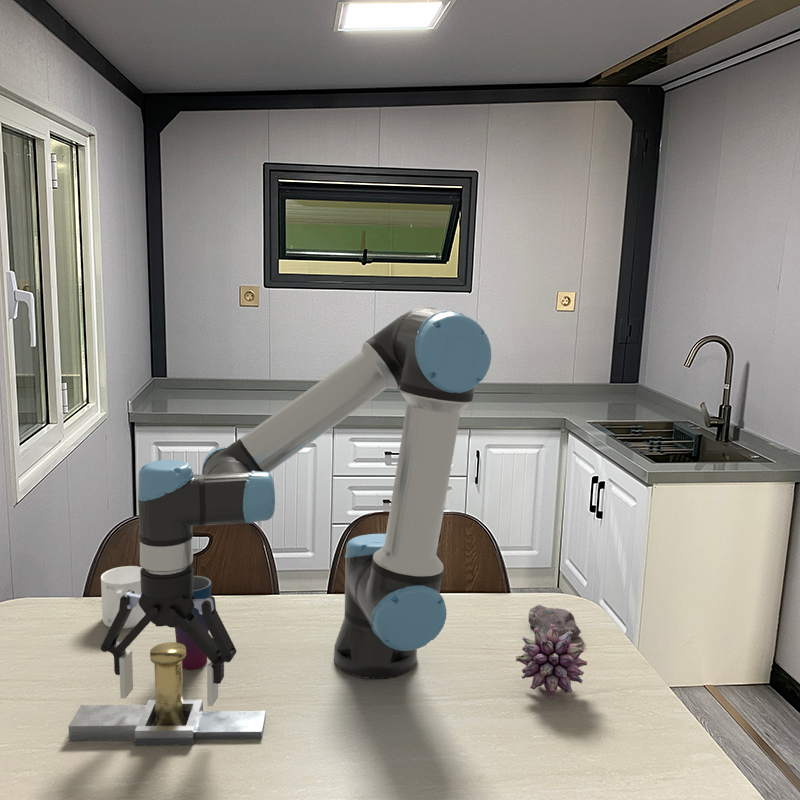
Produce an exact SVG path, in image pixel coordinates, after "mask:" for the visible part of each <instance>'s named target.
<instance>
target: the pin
mask: <svg viewBox="0 0 800 800" xmlns="http://www.w3.org/2000/svg"><path fill="white" fill-rule="evenodd" d="M185 657H186V647H185V646H184V645H183V644H181V643H177V642H176V641H170V642H169V641H168V642H163V643H159V644H156V645H155V646H153V647H152V648H151V649H150V651H149V660H150V661H151V663H153V665H154V694H155V695H154V698H155V699H154V700H155V706H156V718H155V726H184V718H183V700H184V697H183V696H184V693H183V692H184V691H183V689H184V688H183V687H184V686H183V668H182V660H183V659H184V658H185Z"/></svg>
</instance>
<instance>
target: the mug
mask: <svg viewBox="0 0 800 800" xmlns="http://www.w3.org/2000/svg"><path fill="white" fill-rule="evenodd" d="M141 568H142V567H141V566H137V565H126V566H119V567H113V568H111V569H108V570H106V571H104V572H103V573H102V574H101V576H100V586H101V587H100V588H101V589H100V590H101V611H102V612H101V614H102V617H101V618H102V622H103V624H104V626H106V627H108V628H110V627H111V625H112V623H113V621H114V619H115V617H116V615H117V613H118V611H119V607H120V598H121V597H122V596H123V595H124V594H125V593H126V592H127V591H128V590H133V591H134V592H135V594H139V595H141V594H142V592H141V577H140V570H141ZM145 615H146V614H145V613H144V611H143V610H142V608H141V607H140V606H139V604H137V605H136V606H135V607H134V608H133V609H132V610H131V612H130V614H129V616H128V618H127V620H126V622H125V624H124V626H123V628H122V630H124V629H133V628H134V627H135V626H136V625H137V624H138V622H139V621H140V620H141V619H142V618H143V617H144V616H145Z"/></svg>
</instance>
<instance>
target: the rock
mask: <svg viewBox="0 0 800 800" xmlns="http://www.w3.org/2000/svg"><path fill="white" fill-rule="evenodd" d="M528 623H529V625H530V626H531V627H532V628H534V629H536V628H538V629H539V631H541V632H542V633H544V634H545V635H546V636H547V633H548V631H549V630H550V627H551V624H552V625H555V628H557V633H558V637H561V636H563V635H564V634H566V633H567V632H569V631H570V632H572V633H573V634H572V636H571V640H572V639H576V638H579V635H580V634H581V633H582V631H581V629H580V628H579V626H578V625H577V623H576V619H575V616H574V615H573V613H572V612H571V611H569V610H567V609H563V608H558V607H557V608H554V607H547V606H543V605H541V604H537V605H535V606H533V607H532V608H530V609H529V613H528Z"/></svg>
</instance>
